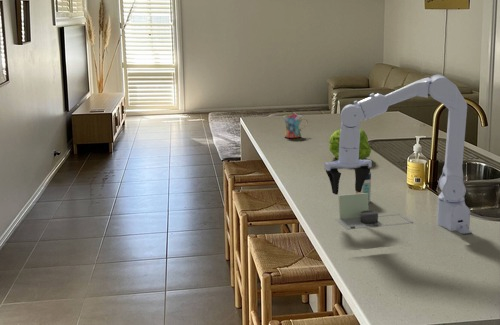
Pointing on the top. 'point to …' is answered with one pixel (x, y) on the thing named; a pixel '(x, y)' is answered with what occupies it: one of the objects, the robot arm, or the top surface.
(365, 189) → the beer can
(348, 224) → the grey ball tray
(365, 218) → the dark grey pebble
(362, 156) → the lettuce
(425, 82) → the robot arm
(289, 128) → the mug
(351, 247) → the top surface
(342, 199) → the cover
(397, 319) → the top surface
